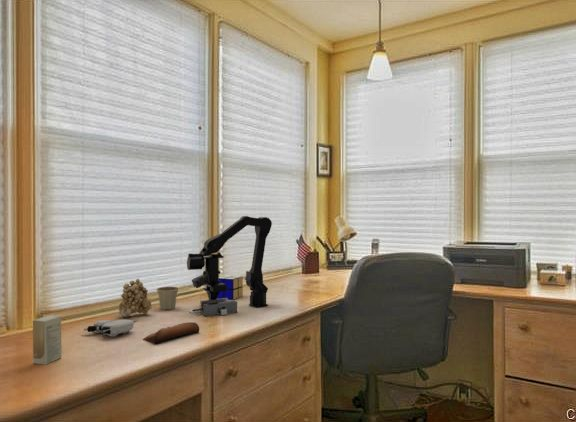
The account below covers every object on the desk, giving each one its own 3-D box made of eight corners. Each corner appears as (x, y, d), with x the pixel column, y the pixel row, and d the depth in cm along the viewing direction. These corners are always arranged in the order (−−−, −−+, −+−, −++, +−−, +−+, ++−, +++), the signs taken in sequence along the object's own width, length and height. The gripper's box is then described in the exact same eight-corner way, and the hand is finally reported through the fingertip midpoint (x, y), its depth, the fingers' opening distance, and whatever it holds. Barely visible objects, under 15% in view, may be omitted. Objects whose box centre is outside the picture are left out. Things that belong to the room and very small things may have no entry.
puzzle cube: (214, 298, 216) (214, 277, 216) (225, 295, 225) (225, 275, 225) (233, 300, 212) (233, 279, 212) (243, 296, 222) (243, 276, 222)
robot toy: (80, 338, 153) (113, 340, 146) (80, 324, 153) (112, 326, 146) (109, 329, 164) (140, 331, 157) (108, 317, 164) (139, 318, 158)
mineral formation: (115, 317, 179) (115, 279, 179) (144, 311, 189) (144, 275, 189) (125, 320, 173) (125, 281, 173) (155, 314, 184) (155, 277, 184)
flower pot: (172, 311, 189) (172, 290, 189) (152, 310, 191) (152, 290, 191) (182, 306, 198) (182, 287, 198) (162, 305, 200) (162, 286, 200)
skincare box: (50, 356, 131) (50, 314, 130) (62, 358, 129) (62, 315, 129) (31, 363, 124) (31, 319, 124) (44, 365, 123) (44, 320, 123)
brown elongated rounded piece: (184, 328, 161) (190, 313, 159) (195, 341, 158) (201, 326, 156) (140, 339, 147) (146, 324, 145) (151, 354, 143) (157, 338, 141)
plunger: (226, 308, 193) (226, 297, 193) (237, 312, 185) (237, 302, 185) (192, 312, 185) (192, 301, 185) (201, 317, 176) (201, 306, 176)
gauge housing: (223, 306, 198) (223, 296, 198) (237, 312, 187) (237, 301, 187) (187, 311, 189) (187, 300, 189) (199, 317, 178) (199, 306, 178)
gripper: (186, 267, 195) (186, 303, 195) (202, 272, 179) (202, 311, 179) (210, 265, 201) (210, 300, 201) (227, 270, 185) (227, 308, 185)
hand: (212, 305), depth 192 cm, fingers closed
